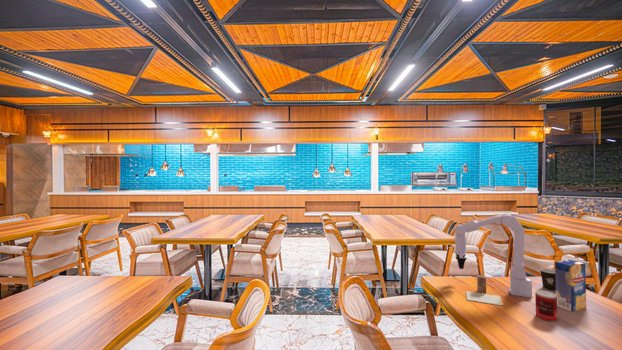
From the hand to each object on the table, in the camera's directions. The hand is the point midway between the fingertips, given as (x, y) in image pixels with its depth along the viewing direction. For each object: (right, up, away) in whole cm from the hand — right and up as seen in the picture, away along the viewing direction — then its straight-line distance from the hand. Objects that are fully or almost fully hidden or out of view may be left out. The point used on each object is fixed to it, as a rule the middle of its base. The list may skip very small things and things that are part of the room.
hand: (460, 266), depth 172 cm
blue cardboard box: (+38, -10, -31) cm, 50 cm away
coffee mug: (+48, -10, -10) cm, 50 cm away
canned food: (+18, -10, -41) cm, 46 cm away
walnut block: (+5, -10, -12) cm, 17 cm away
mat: (+1, -10, -20) cm, 23 cm away
